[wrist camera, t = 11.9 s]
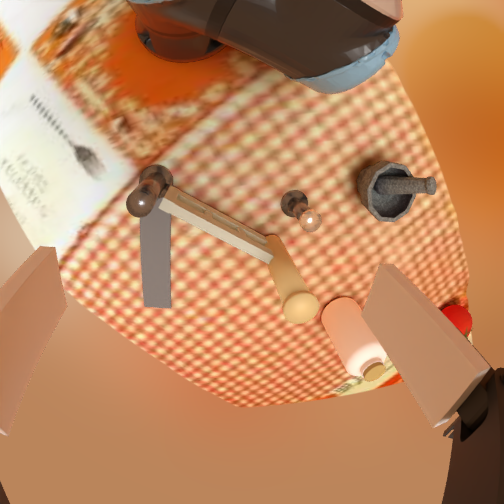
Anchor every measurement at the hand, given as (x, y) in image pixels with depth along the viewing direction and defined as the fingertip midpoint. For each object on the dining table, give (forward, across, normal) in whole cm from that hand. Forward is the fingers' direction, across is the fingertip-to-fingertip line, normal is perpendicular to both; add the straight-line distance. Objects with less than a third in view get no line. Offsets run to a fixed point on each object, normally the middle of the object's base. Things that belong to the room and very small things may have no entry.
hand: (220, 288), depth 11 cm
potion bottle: (+35, +28, -28) cm, 53 cm away
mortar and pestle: (+35, +28, 0) cm, 45 cm away
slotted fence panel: (+34, +3, -9) cm, 35 cm away
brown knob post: (+35, -8, -4) cm, 36 cm away
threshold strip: (+35, -8, -15) cm, 39 cm away
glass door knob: (+35, +14, -6) cm, 38 cm away
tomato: (+35, +64, -31) cm, 79 cm away
